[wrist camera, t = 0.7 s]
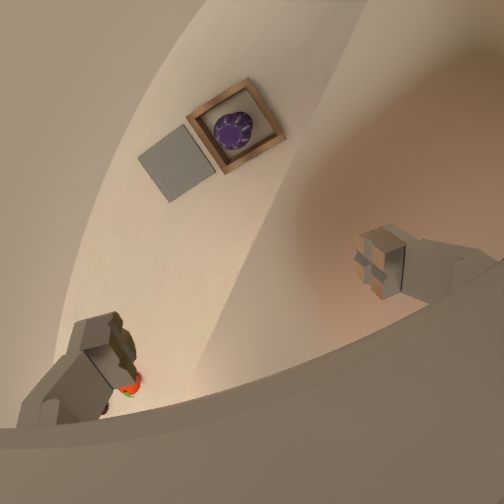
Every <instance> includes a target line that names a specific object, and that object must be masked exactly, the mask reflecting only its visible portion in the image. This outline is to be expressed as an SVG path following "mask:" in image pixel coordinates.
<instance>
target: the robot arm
mask: <svg viewBox="0 0 504 504" xmlns="http://www.w3.org/2000/svg"><path fill="white" fill-rule="evenodd" d="M354 248H355V249H356V251H357V254H356V256H355V258H354V266H355V270H356V273H357V275H358V277H359V279H360V280H361V281H362V282H363V283H366V284H369V285H371V290H372V291H373V292H374V293H375V294H376V295H377V296H378V297H379V298H380V299H381V300H383V299H386V298H388V297H390V296H393V295H395V294H397V293H400V292H401V293H403V294H405V295H408V296H411V297H414V298H416V299H419V300H421V301H424V302H426V303H429V305H427V306H425V307H424V308H422V309H420V310H418V311H416V312H414V313H412V314H410V315H409V316H407V317H405V318H403V319H401V320H399V321H397V322H395V323H393V324H391V325H389V326H387V327H385V328H383V329H381V330H379V331H376V332H374V333H372V334H370V335H368V336H366V337H364V338H362V339H359V340H357V341H355V342H353V343H350V344H348V345H346V346H343V347H341V348H339V349H337V350H334V351H332V352H329V353H327V354H325V355H322V356H320V357H317V358H315V359H312V360H310V361H308V362H305V363H302V364H300V365H297V366H295V367H292V368H289V369H287V370H284V371H281V372H278V373H276V374H273V375H270V376H267V377H264V378H261V379H258V380H255V381H252V382H249V383H247V384H244V385H240V386H238V387H234V388H231V389H227V390H224V391H221V392H217V393H214V394H211V395H207V396H204V397H200V398H196V399H192V400H189V401H185V402H181V403H177V404H173V405H169V406H164V407H160V408H156V409H151V410H147V411H142V412H137V413H132V414H127V415H122V416H116V417H110V418H105V419H99V418H100V416H101V414H102V412H103V410H104V408H105V406H106V404H107V402H108V401H109V399H110V397H111V395H112V393H113V390H115V389H119V388H123V387H127V386H130V385H134V384H136V367H135V366H134V364H133V363H134V361H135V360H136V348H135V344H134V341H133V339H132V336H131V335H130V333H129V331H127V330H125V329H123V328H122V326H123V320H122V319H121V317H120V315H119V314H118V313H117V312H116V311H114V312H110V313H107V314H103V315H99V316H95V317H92V318H89V319H88V318H87V319H84V320H81V321H78V322H76V323H75V324H74V327H73V331H72V334H71V338H70V341H69V345H68V349H67V352H66V355H63V356H61V358H60V359H59V360H58V361H57V362H56V363H55V364H54V365H53V367H52V368H51V369H50V370H49V371H48V372H47V373H46V375H45V376H44V377H43V378H42V379H41V380H40V382H39V383H38V384H37V385H36V386H35V388H34V389H33V390H32V391H31V392H30V393H29V395H28V396H27V397H26V398H25V399H24V401H23V402H22V405H21V409H20V413H19V417H18V422H17V427H16V428H9V429H0V504H504V258H503V259H502V260H500V261H499V262H498V261H497V260H495V259H494V258H492V257H491V256H489V255H488V254H486V253H485V252H483V251H481V250H480V249H476V248H471V247H465V246H460V245H454V244H449V243H443V242H437V241H431V240H425V239H422V240H418V239H417V238H415V237H413V236H412V235H411V234H409V233H407V232H406V231H404V230H402V229H401V228H399V227H397V226H395V225H394V224H387V225H384V226H382V227H379V228H377V229H374V230H371V231H369V232H366V233H363V234H360V235H358V236H355V239H354Z"/></svg>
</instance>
